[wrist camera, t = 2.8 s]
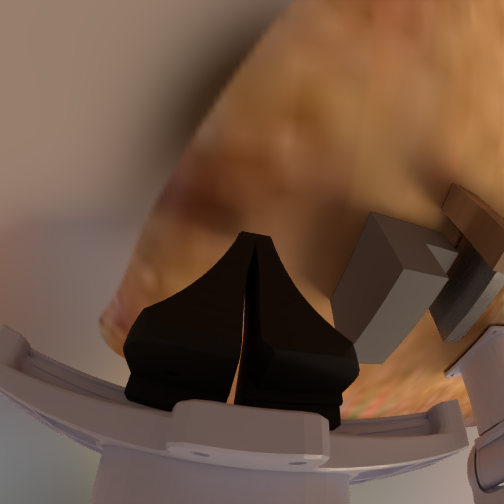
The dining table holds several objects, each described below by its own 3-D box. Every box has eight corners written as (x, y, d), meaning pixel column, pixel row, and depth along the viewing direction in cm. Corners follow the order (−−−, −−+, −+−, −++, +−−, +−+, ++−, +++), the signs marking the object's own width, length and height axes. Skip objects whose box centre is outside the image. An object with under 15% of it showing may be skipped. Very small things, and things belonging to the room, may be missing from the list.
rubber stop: (442, 232, 13) (481, 285, 9) (396, 307, 16) (416, 364, 12) (369, 210, 12) (403, 268, 9) (329, 298, 16) (340, 362, 12)
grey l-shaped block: (532, 239, 11) (565, 279, 8) (488, 308, 15) (510, 351, 11) (477, 208, 11) (524, 257, 7) (424, 299, 15) (448, 355, 11)
